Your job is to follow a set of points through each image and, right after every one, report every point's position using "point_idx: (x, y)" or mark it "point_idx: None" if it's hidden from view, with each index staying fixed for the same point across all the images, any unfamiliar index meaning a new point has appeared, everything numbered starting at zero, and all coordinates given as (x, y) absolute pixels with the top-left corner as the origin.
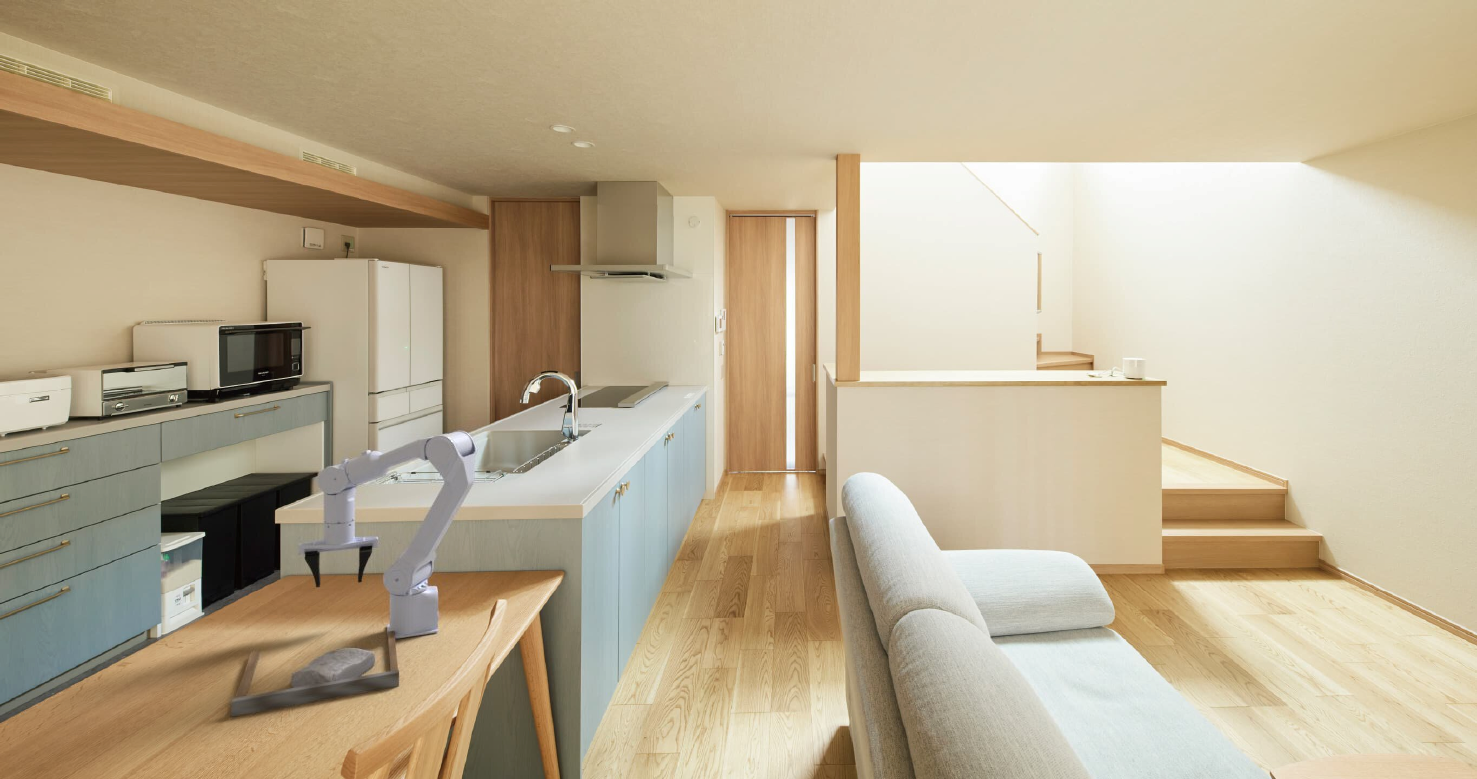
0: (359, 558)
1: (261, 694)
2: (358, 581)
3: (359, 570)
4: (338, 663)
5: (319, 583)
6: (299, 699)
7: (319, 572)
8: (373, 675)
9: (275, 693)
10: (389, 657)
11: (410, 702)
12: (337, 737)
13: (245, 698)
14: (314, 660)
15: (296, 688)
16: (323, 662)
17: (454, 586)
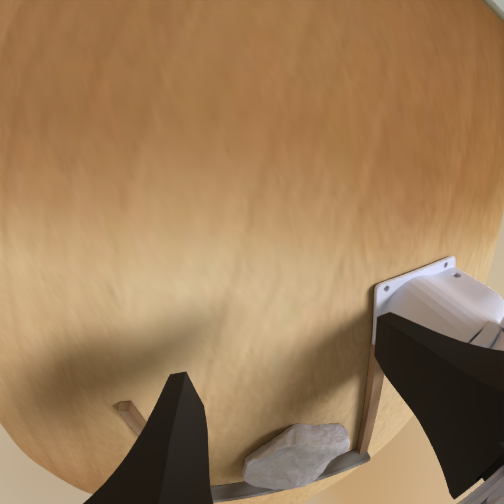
0: (443, 467)
1: (228, 499)
2: (378, 359)
3: (412, 406)
4: (306, 478)
5: (205, 425)
6: None
7: (186, 441)
8: (343, 470)
9: (243, 498)
10: (365, 416)
11: None
12: (308, 493)
13: (214, 501)
14: (262, 459)
15: (263, 493)
16: (284, 475)
17: (465, 42)
